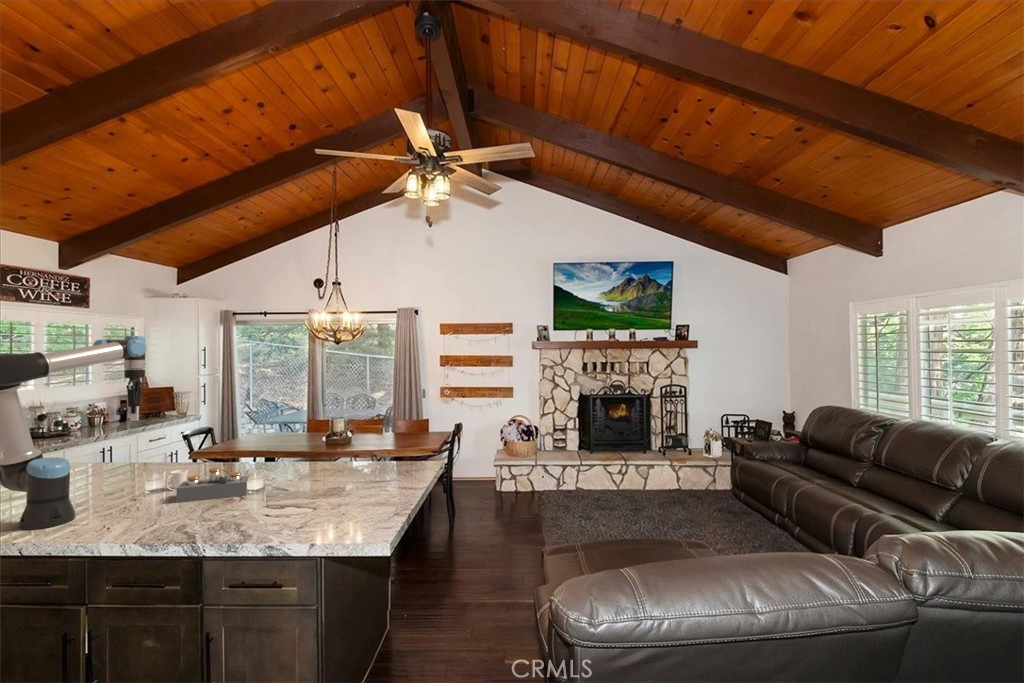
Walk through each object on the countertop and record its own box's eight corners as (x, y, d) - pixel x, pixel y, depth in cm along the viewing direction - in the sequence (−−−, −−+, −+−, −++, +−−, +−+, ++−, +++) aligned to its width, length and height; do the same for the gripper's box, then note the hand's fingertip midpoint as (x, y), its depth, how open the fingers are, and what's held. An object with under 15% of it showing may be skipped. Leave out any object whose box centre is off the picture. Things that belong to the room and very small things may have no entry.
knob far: (239, 489, 216) (239, 474, 216) (227, 489, 215) (228, 475, 215) (242, 486, 220) (242, 472, 221) (231, 487, 219) (231, 472, 220)
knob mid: (218, 485, 213) (218, 470, 213) (206, 485, 212) (207, 470, 212) (222, 482, 217) (222, 467, 217) (210, 482, 216) (211, 468, 216)
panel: (249, 488, 225) (249, 475, 225) (246, 495, 214) (246, 481, 214) (183, 494, 215) (183, 481, 215) (176, 502, 204) (176, 488, 204)
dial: (225, 483, 211) (225, 476, 211) (218, 484, 210) (218, 477, 210) (228, 482, 214) (228, 475, 214) (221, 482, 213) (221, 475, 213)
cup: (191, 487, 228) (191, 469, 228) (172, 493, 218) (172, 475, 218) (178, 486, 229) (179, 469, 229) (159, 492, 219) (159, 474, 219)
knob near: (197, 493, 210) (197, 478, 210) (185, 494, 209) (185, 478, 209) (201, 490, 214) (201, 475, 214) (189, 491, 213) (190, 476, 213)
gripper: (139, 369, 217) (139, 422, 217) (149, 368, 229) (148, 418, 229) (119, 369, 214) (118, 422, 214) (130, 368, 227) (129, 419, 226)
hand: (134, 420), depth 221 cm, fingers closed
